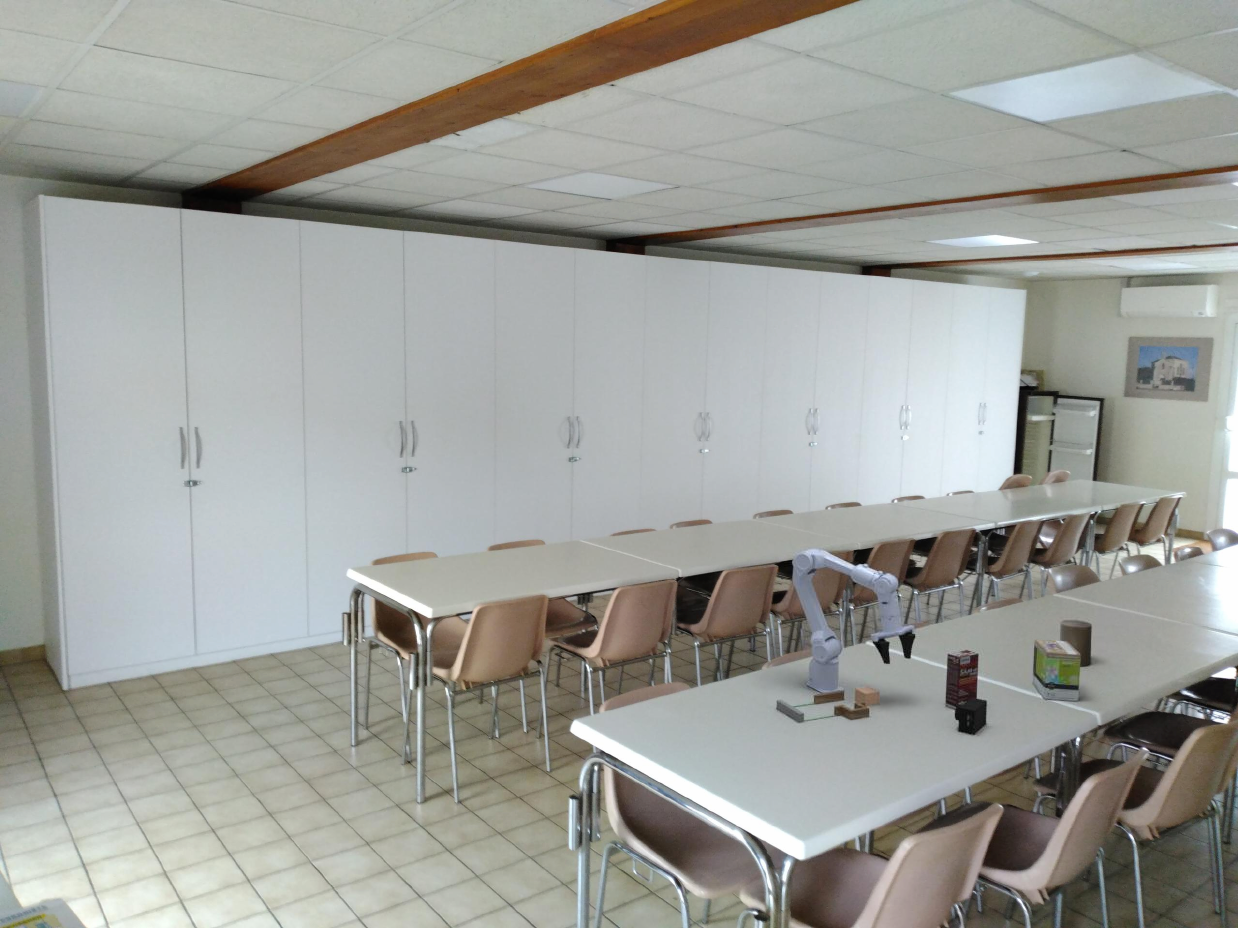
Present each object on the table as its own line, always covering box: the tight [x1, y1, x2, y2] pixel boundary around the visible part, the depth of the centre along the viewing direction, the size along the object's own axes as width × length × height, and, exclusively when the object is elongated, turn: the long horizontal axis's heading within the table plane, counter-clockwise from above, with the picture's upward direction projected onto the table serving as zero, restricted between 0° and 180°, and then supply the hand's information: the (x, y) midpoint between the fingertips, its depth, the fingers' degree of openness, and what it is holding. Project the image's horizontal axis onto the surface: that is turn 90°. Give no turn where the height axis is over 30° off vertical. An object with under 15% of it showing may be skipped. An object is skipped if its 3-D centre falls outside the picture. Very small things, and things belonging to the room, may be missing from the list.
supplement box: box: [944, 649, 979, 710], centre depth 267 cm, size 9×5×16 cm, turn 120°
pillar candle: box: [1059, 619, 1093, 667], centre depth 308 cm, size 10×10×15 cm
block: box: [854, 686, 880, 707], centre depth 270 cm, size 5×5×4 cm
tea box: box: [1032, 639, 1081, 702], centre depth 278 cm, size 15×10×15 cm
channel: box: [813, 690, 870, 721], centre depth 265 cm, size 16×10×2 cm, turn 22°
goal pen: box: [776, 699, 836, 723], centre depth 262 cm, size 12×12×2 cm
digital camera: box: [954, 697, 988, 736], centre depth 251 cm, size 10×5×7 cm, turn 141°
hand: (897, 660), depth 268 cm, fingers open, 7 cm apart
